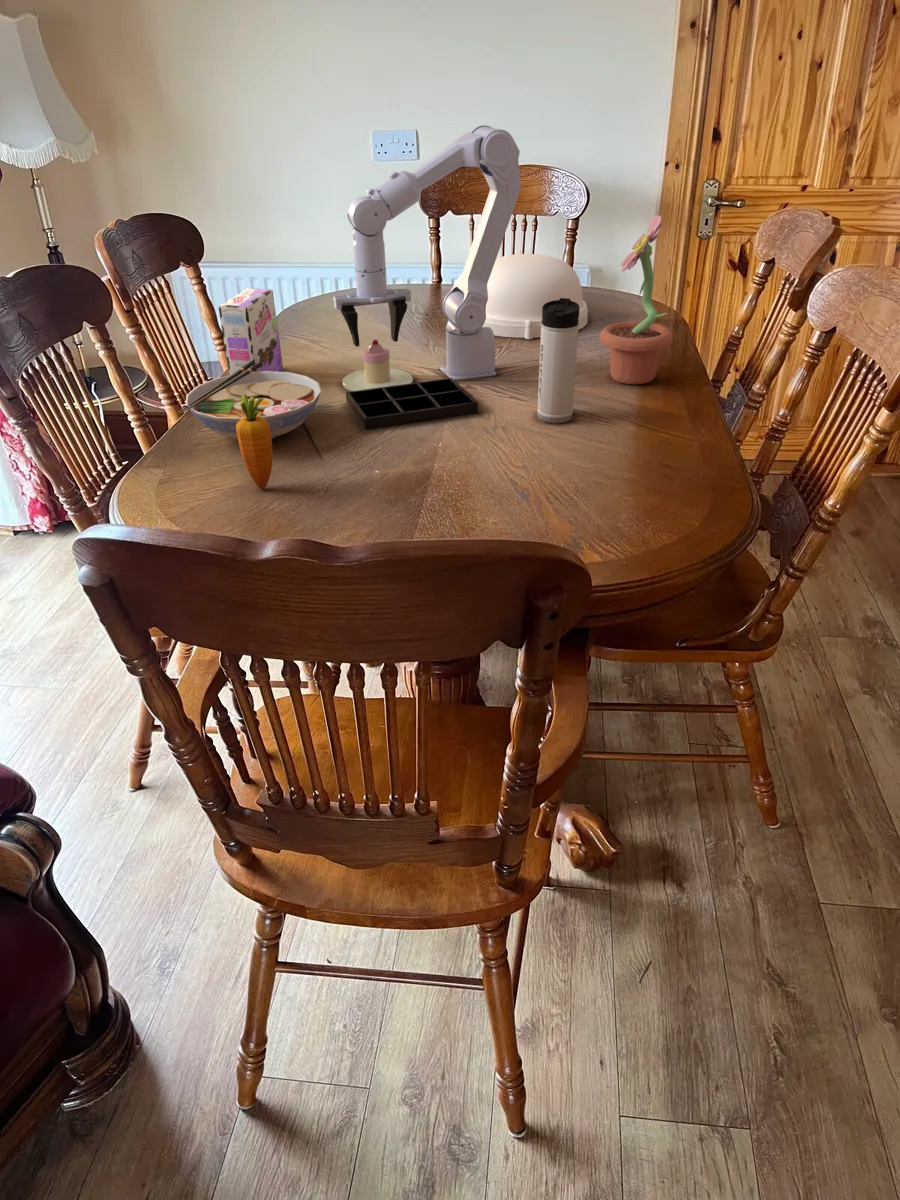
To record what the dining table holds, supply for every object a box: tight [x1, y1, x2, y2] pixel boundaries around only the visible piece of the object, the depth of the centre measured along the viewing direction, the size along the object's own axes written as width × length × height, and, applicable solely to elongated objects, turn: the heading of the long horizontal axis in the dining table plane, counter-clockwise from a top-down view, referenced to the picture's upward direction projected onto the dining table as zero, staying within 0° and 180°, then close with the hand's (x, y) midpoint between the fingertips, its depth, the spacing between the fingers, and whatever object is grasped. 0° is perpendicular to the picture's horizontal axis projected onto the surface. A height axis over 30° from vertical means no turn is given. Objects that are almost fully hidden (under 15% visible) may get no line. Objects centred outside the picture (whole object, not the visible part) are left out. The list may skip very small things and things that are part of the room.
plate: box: [341, 367, 414, 392], centre depth 167 cm, size 14×14×1 cm
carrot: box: [236, 394, 274, 491], centre depth 124 cm, size 5×5×15 cm
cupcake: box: [362, 339, 391, 383], centre depth 164 cm, size 5×5×8 cm
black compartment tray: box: [345, 377, 479, 431], centre depth 154 cm, size 14×21×2 cm
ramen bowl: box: [176, 361, 322, 440], centre depth 144 cm, size 25×23×8 cm
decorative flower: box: [599, 214, 674, 385], centre depth 159 cm, size 15×14×30 cm
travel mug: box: [536, 298, 580, 425], centre depth 145 cm, size 6×7×20 cm
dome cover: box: [482, 253, 589, 340], centre depth 198 cm, size 32×30×14 cm
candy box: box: [217, 288, 284, 376], centre depth 165 cm, size 14×6×16 cm, turn 168°
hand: (375, 342), depth 162 cm, fingers open, 7 cm apart
